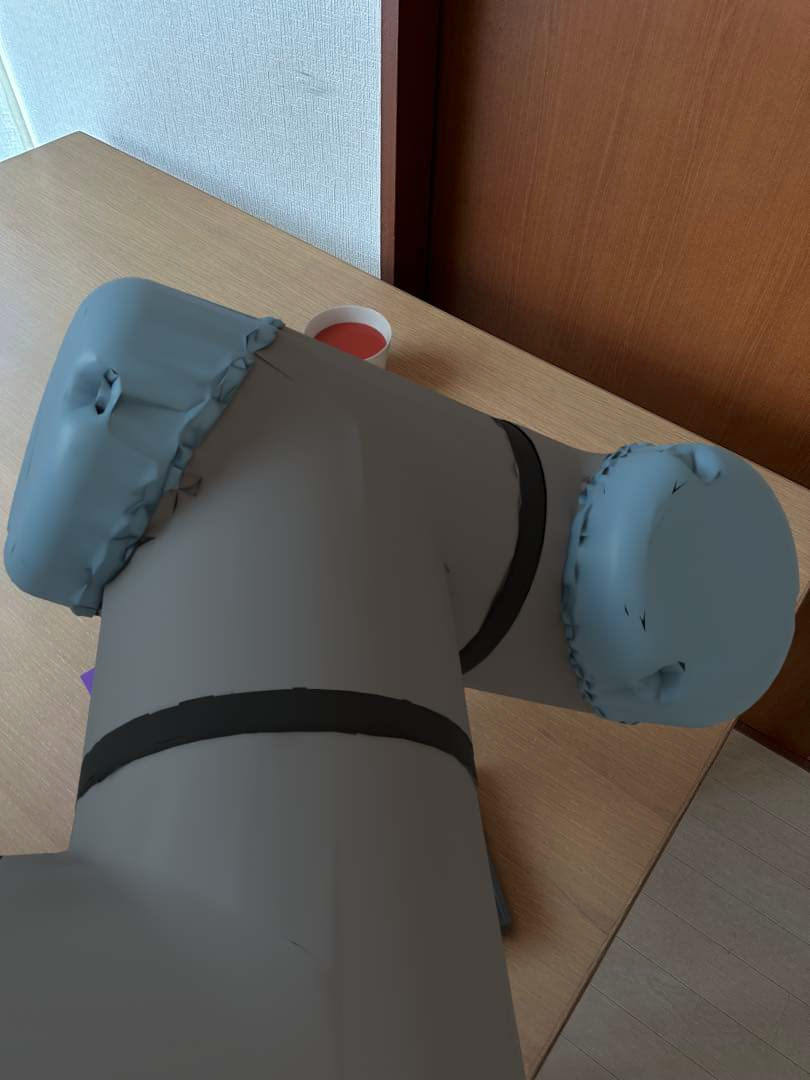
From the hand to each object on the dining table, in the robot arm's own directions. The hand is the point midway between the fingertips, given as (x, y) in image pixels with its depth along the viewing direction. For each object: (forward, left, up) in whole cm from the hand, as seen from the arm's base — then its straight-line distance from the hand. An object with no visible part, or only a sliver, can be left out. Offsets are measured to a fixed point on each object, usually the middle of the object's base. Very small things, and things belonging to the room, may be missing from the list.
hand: (227, 582), depth 54 cm
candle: (+16, +34, -16) cm, 41 cm away
